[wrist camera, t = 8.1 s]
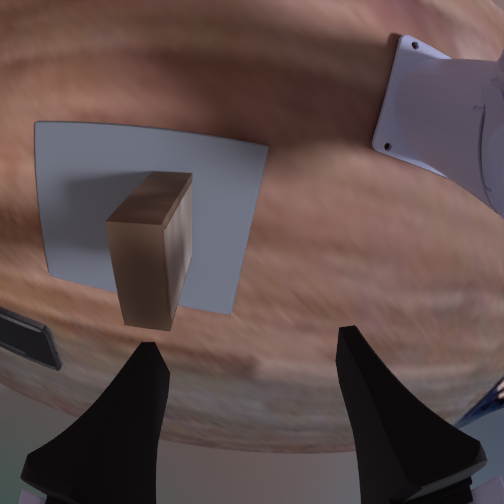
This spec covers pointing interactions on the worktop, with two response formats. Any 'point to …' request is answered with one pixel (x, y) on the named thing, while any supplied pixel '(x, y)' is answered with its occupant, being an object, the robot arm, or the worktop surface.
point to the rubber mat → (126, 181)
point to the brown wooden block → (152, 248)
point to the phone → (28, 339)
